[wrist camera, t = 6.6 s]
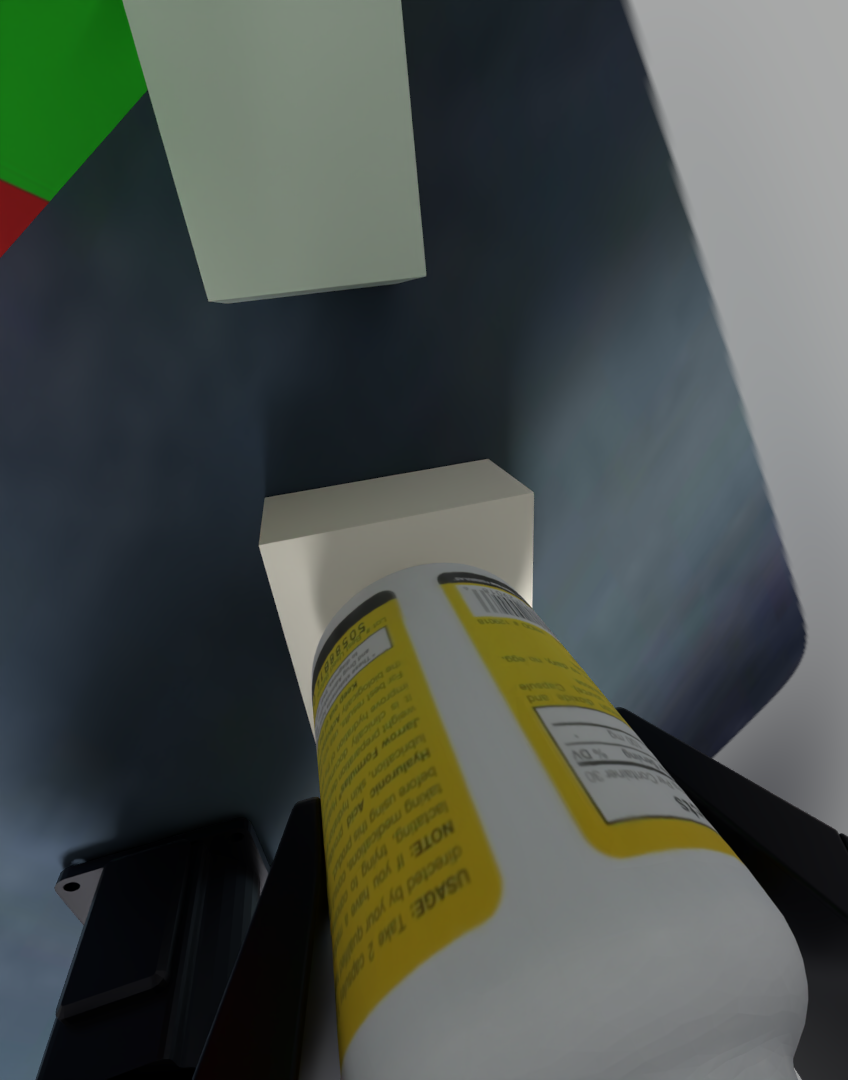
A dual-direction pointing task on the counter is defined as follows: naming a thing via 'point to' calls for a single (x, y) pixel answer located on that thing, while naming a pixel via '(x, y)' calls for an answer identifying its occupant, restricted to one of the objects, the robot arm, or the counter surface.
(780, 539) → the counter surface
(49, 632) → the counter surface
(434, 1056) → the supplement bottle
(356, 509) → the base brick
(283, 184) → the brick
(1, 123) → the puzzle toy
